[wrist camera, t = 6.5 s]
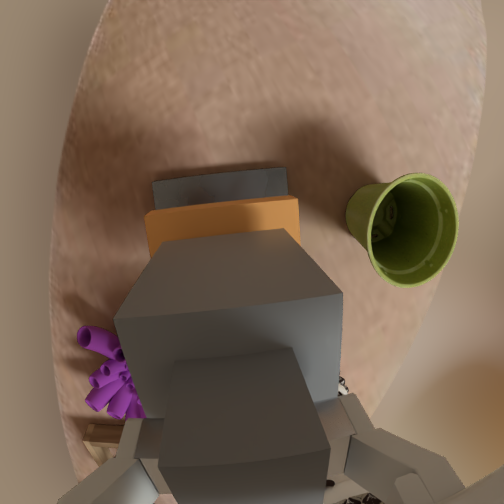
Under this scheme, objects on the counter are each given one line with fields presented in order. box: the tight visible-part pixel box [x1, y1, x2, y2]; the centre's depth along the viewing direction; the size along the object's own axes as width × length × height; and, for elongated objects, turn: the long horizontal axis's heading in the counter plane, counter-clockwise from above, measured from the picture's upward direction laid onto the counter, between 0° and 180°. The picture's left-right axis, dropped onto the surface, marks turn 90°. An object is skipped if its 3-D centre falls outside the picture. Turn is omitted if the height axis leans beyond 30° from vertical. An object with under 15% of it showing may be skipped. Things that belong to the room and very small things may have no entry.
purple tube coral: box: [77, 326, 147, 422], centre depth 30 cm, size 11×15×10 cm
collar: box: [144, 195, 301, 258], centre depth 21 cm, size 9×9×2 cm
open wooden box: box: [83, 424, 124, 467], centre depth 36 cm, size 10×17×4 cm, turn 95°
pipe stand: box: [152, 167, 288, 210], centre depth 24 cm, size 12×12×14 cm
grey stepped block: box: [113, 228, 343, 504], centre depth 12 cm, size 7×7×13 cm
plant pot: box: [346, 173, 459, 288], centre depth 27 cm, size 9×9×9 cm
